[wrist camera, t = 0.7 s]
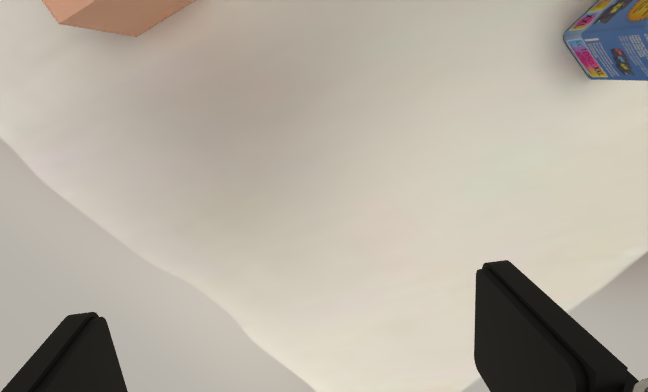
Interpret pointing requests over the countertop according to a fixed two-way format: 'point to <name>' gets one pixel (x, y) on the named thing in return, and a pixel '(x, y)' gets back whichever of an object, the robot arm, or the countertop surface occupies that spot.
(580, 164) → the countertop surface
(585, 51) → the ink cartridge box
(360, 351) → the countertop surface
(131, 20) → the terracotta rectangular block
